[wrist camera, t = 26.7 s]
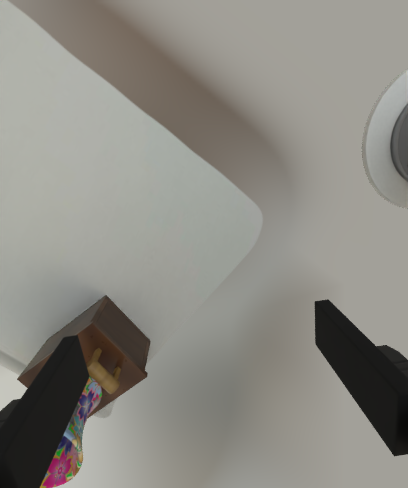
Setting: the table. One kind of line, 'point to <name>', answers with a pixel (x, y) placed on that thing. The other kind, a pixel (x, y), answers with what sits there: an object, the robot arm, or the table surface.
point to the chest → (111, 323)
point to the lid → (100, 365)
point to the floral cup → (73, 439)
